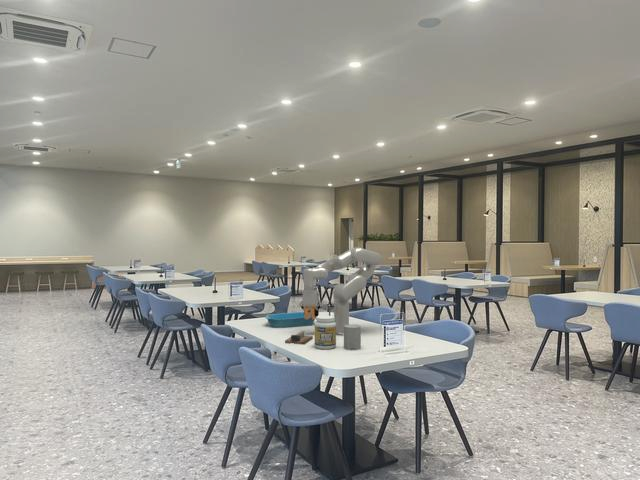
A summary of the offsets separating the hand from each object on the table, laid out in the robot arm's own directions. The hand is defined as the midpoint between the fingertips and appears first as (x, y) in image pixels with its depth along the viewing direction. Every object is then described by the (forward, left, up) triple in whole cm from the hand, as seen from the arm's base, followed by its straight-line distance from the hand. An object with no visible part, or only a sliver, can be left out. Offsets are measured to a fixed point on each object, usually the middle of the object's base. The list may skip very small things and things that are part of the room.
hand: (311, 316), depth 299 cm
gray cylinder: (-32, +28, -12) cm, 44 cm away
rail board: (+2, +19, -12) cm, 22 cm away
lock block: (0, 0, -1) cm, 1 cm away
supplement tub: (-17, +30, -12) cm, 36 cm away
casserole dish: (+24, -29, -12) cm, 40 cm away
